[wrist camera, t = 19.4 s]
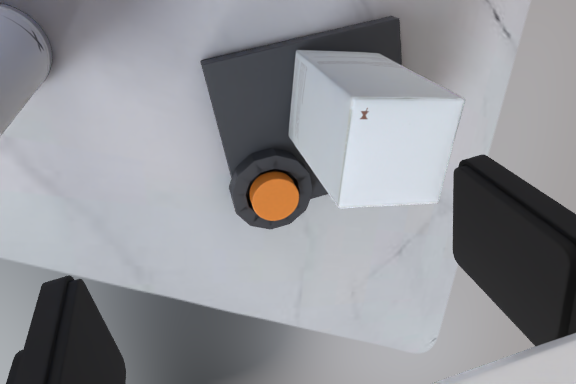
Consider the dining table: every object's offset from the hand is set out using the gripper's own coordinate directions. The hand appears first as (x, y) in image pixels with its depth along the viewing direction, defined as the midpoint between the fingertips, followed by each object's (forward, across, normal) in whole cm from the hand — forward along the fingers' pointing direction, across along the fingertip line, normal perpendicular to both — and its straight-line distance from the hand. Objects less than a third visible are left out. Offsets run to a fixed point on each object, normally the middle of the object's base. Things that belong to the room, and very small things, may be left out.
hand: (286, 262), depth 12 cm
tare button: (+26, -3, +13) cm, 29 cm away
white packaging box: (+27, -10, +7) cm, 30 cm away
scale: (+29, -8, +9) cm, 31 cm away
